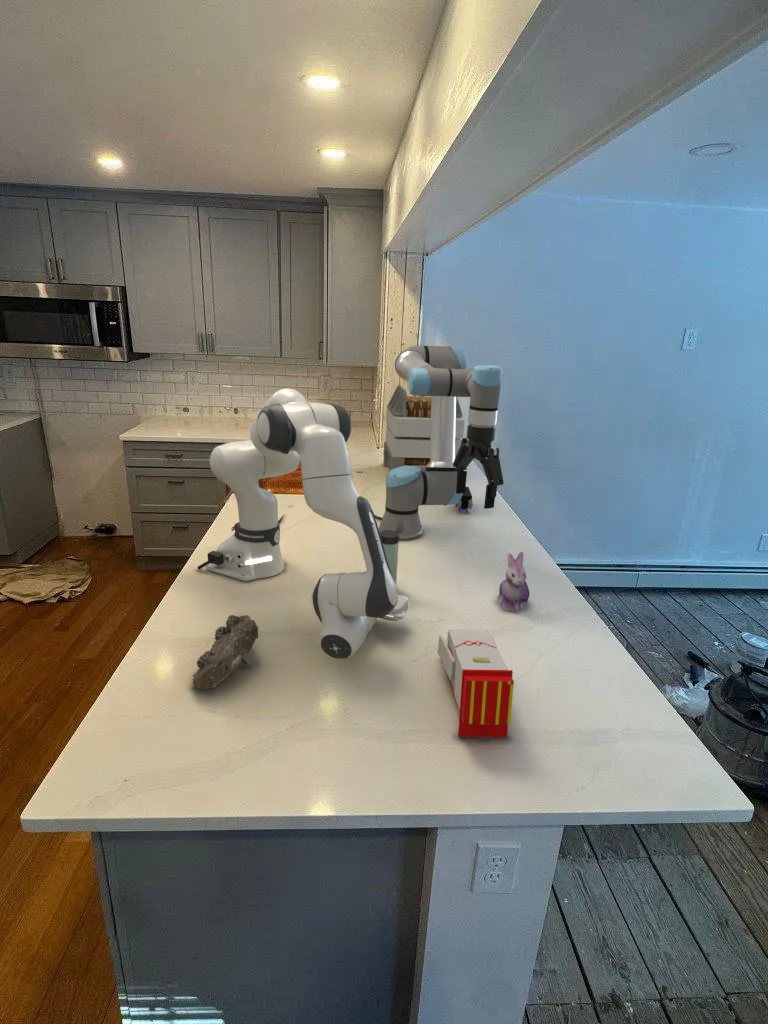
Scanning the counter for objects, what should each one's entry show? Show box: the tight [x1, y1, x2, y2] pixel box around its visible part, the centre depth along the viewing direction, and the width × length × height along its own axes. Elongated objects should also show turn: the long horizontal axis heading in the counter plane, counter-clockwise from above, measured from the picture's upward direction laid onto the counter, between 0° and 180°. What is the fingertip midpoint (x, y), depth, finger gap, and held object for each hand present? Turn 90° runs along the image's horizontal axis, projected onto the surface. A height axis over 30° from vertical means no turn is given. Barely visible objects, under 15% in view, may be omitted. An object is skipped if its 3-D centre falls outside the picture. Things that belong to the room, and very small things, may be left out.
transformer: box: [383, 384, 465, 471], centre depth 268 cm, size 34×33×41 cm
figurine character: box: [454, 486, 474, 513], centre depth 227 cm, size 7×8×15 cm
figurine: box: [497, 551, 530, 612], centre depth 152 cm, size 9×10×15 cm
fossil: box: [192, 614, 259, 691], centre depth 123 cm, size 22×10×15 cm
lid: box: [379, 530, 401, 544], centre depth 154 cm, size 6×6×2 cm
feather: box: [278, 514, 286, 525], centre depth 209 cm, size 2×28×2 cm
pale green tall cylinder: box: [383, 541, 400, 585], centre depth 157 cm, size 5×5×17 cm
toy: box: [437, 628, 515, 738], centre depth 117 cm, size 12×13×30 cm
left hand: (375, 587), depth 147 cm, fingers open, 8 cm apart
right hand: (474, 500), depth 159 cm, fingers open, 13 cm apart
